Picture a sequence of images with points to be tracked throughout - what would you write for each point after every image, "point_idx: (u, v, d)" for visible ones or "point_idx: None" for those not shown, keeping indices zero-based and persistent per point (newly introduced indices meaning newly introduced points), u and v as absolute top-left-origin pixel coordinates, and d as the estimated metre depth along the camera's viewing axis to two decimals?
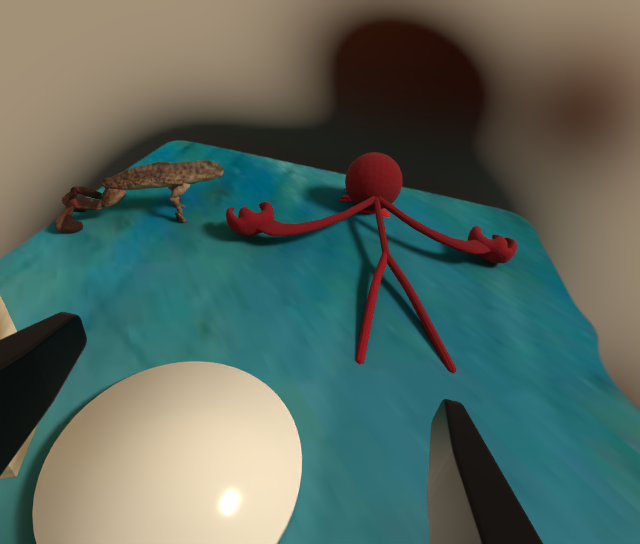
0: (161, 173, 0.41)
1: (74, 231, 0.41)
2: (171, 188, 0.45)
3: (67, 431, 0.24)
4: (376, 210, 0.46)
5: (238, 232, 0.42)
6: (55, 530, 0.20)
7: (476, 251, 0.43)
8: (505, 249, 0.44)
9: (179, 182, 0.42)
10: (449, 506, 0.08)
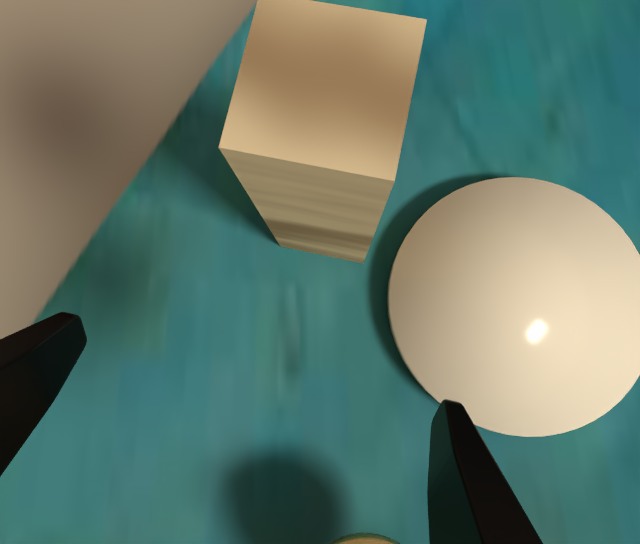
0: None
1: None
2: None
3: (411, 237, 0.23)
4: None
5: None
6: (411, 334, 0.22)
7: None
8: None
9: None
10: (449, 506, 0.08)
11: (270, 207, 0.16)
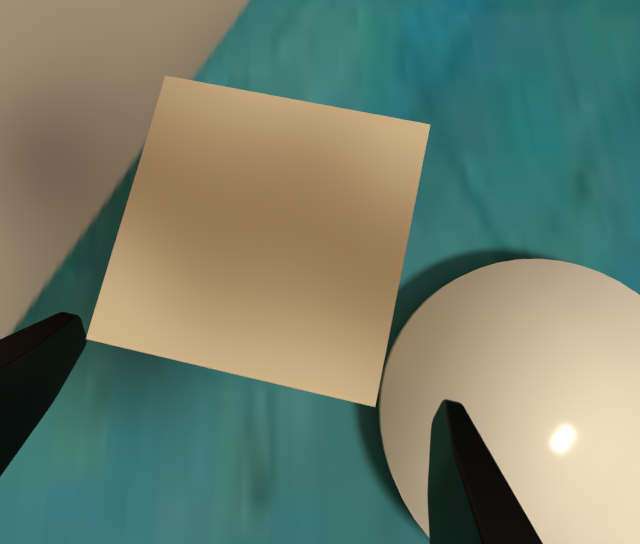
0: None
1: None
2: None
3: (408, 334, 0.18)
4: None
5: None
6: (407, 461, 0.18)
7: None
8: None
9: None
10: (449, 506, 0.08)
11: None
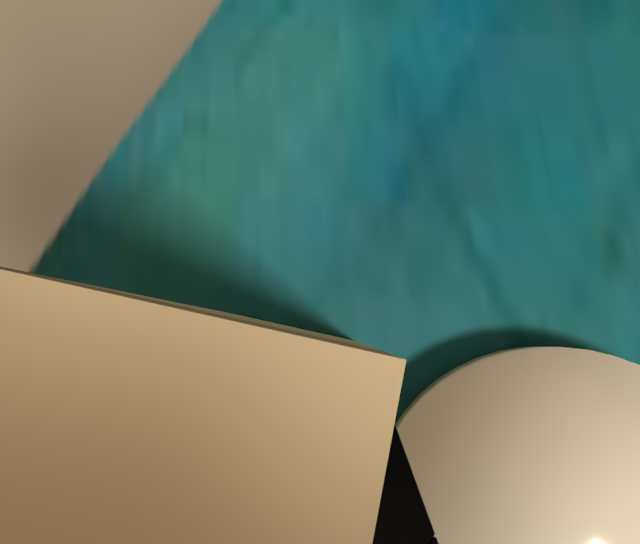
0: None
1: None
2: None
3: None
4: None
5: None
6: None
7: None
8: None
9: None
10: None
11: None
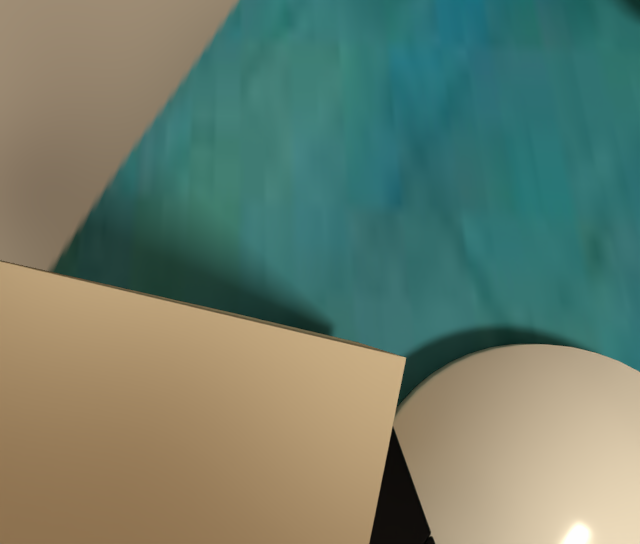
0: None
1: None
2: None
3: None
4: None
5: None
6: None
7: None
8: None
9: None
10: None
11: None
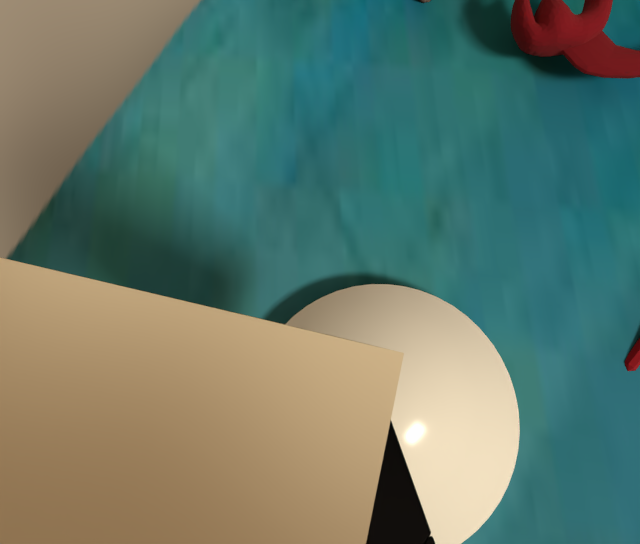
0: None
1: None
2: None
3: None
4: None
5: (524, 50, 0.23)
6: None
7: None
8: None
9: None
10: None
11: None
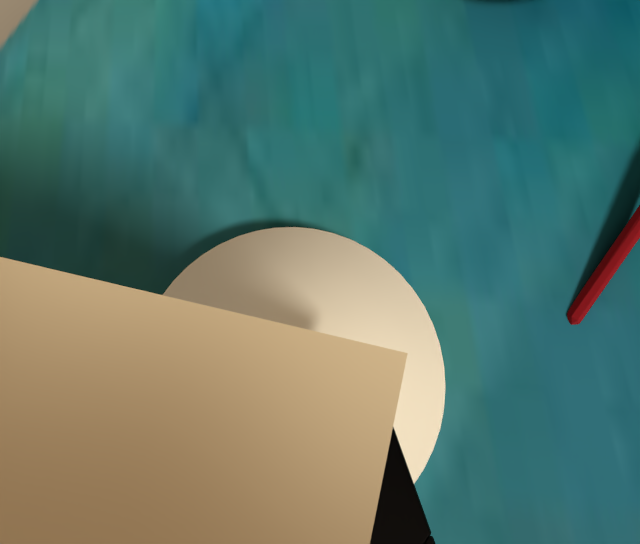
0: None
1: None
2: None
3: None
4: None
5: None
6: None
7: None
8: None
9: None
10: None
11: None
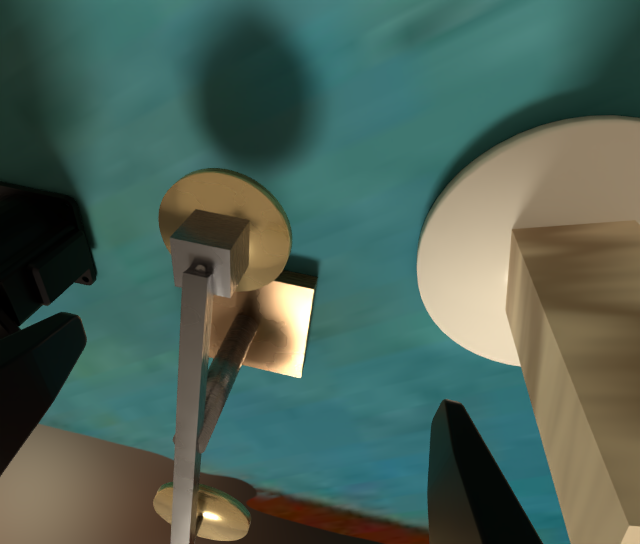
0: None
1: None
2: None
3: None
4: None
5: None
6: (499, 175, 0.18)
7: None
8: None
9: None
10: (449, 506, 0.08)
11: (558, 368, 0.13)
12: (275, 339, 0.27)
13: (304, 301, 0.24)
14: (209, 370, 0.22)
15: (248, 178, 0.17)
